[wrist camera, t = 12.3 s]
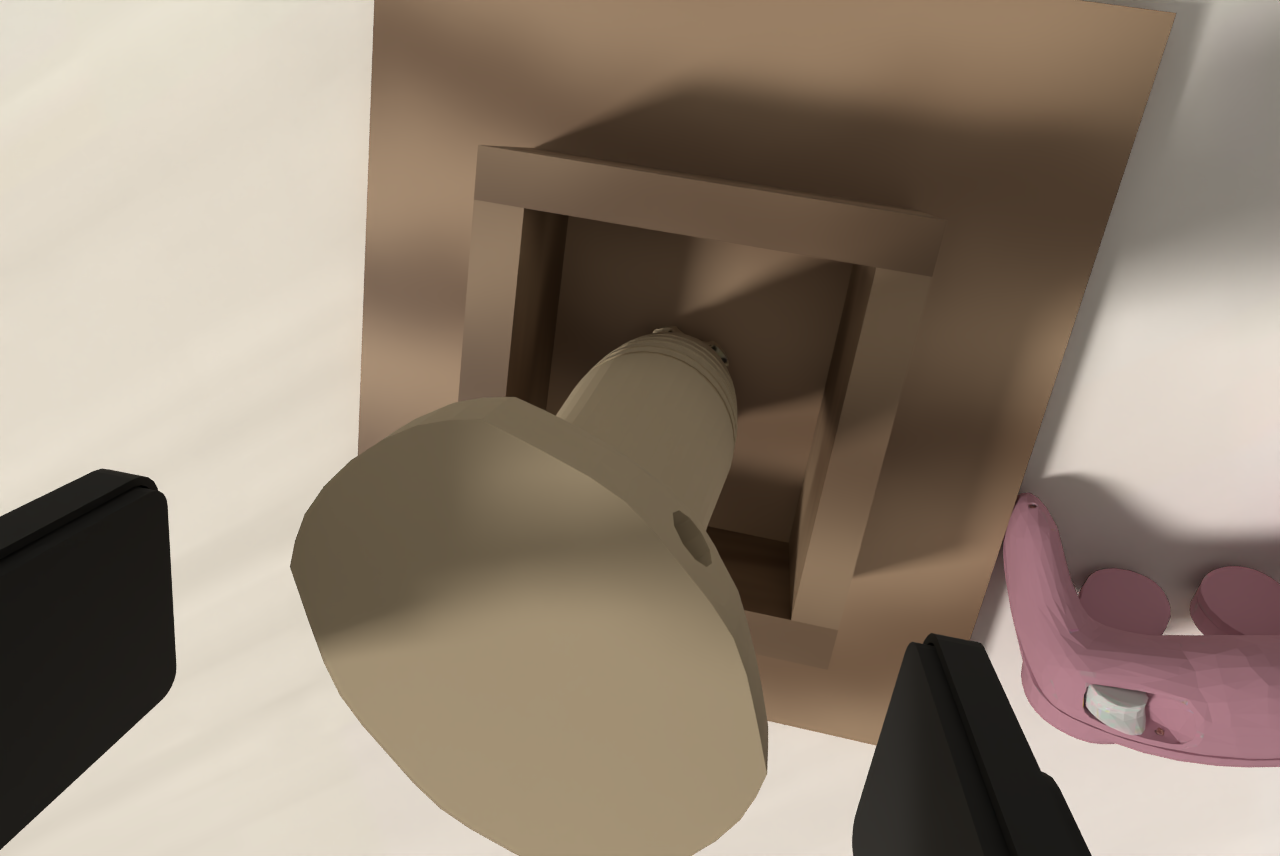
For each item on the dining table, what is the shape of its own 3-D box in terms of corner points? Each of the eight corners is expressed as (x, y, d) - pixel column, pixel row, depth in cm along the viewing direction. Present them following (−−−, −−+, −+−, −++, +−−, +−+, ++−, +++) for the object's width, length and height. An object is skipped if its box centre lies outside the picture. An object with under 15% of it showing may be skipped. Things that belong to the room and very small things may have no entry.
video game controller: (977, 570, 27) (1029, 783, 22) (997, 478, 24) (1061, 702, 19) (1314, 565, 25) (1451, 795, 20) (1382, 465, 22) (1563, 707, 17)
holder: (394, -82, 22) (279, -156, 17) (1157, 20, 20) (1287, -28, 15) (365, 611, 30) (278, 706, 24) (925, 737, 28) (960, 870, 22)
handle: (678, 237, 23) (502, 339, 9) (812, 418, 24) (849, 779, 10) (549, 338, 24) (220, 565, 10) (679, 505, 25) (542, 929, 11)
